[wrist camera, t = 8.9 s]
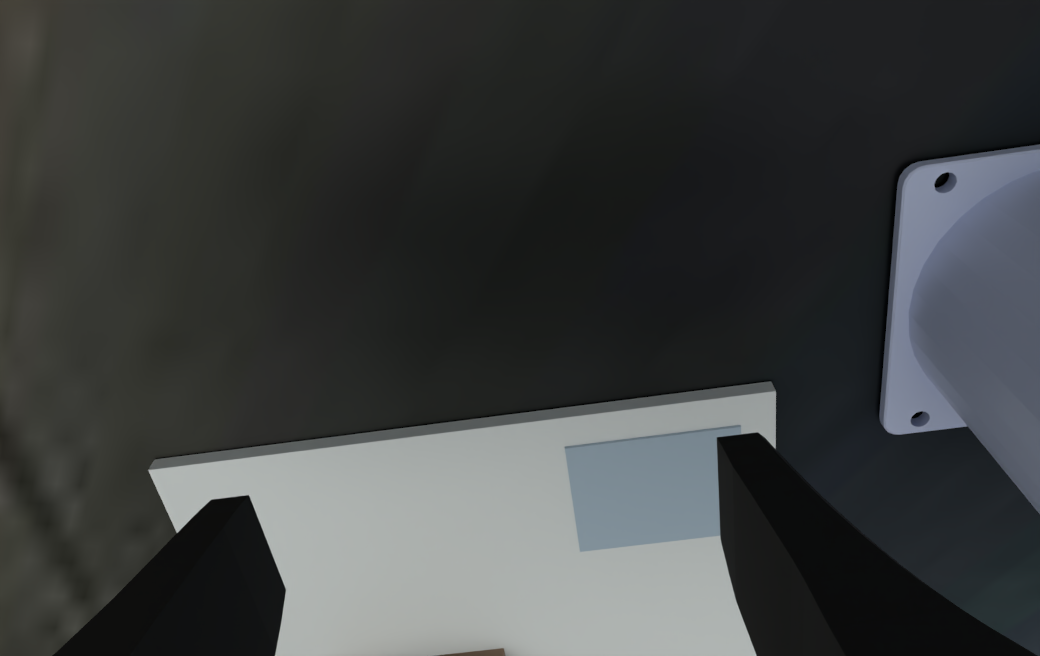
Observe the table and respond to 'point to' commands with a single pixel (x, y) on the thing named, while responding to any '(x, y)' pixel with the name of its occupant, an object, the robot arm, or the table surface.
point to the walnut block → (480, 653)
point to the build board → (499, 530)
